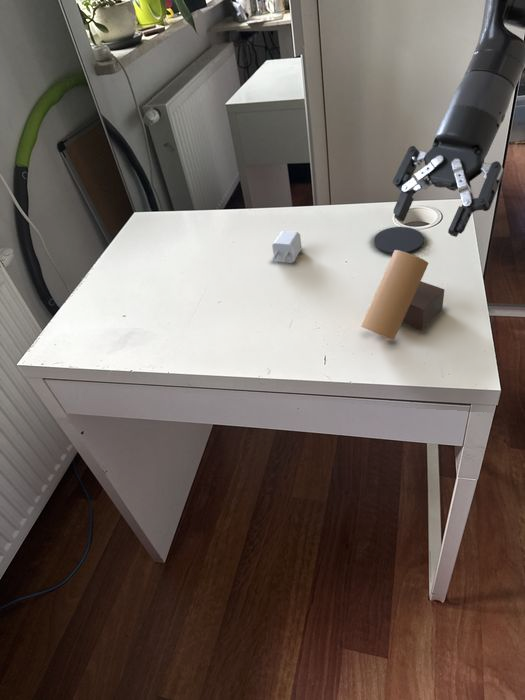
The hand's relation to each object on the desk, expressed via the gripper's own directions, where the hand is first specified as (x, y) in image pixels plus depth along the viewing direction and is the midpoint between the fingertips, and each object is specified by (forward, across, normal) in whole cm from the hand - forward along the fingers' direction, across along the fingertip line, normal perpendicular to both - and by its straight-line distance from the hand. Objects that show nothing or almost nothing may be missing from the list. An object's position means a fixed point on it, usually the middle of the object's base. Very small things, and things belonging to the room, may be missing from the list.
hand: (424, 227), depth 75 cm
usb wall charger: (+11, -27, +8) cm, 30 cm away
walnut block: (+12, 0, +8) cm, 14 cm away
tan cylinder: (+15, 0, +4) cm, 15 cm away
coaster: (0, -12, +19) cm, 23 cm away
